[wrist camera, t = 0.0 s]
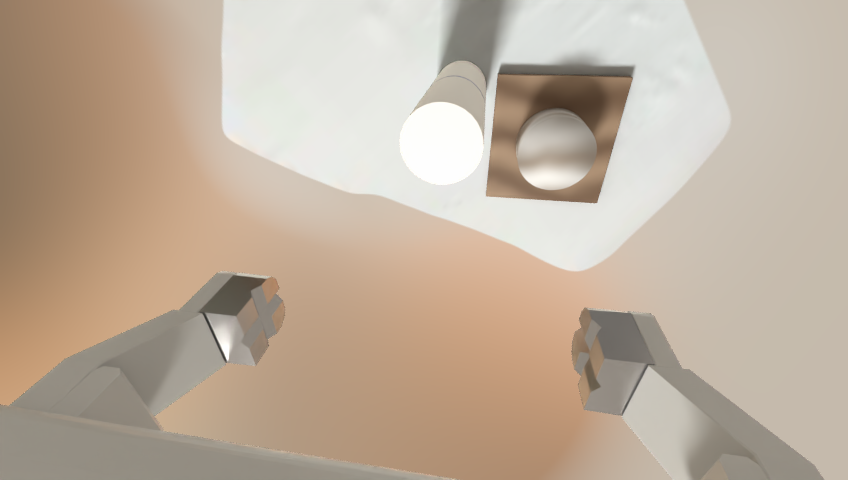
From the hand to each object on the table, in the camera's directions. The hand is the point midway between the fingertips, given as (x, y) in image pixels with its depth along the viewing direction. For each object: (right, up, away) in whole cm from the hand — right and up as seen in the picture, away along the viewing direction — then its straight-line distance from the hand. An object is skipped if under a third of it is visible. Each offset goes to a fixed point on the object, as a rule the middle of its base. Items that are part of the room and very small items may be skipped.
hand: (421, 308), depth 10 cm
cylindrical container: (+5, +23, +42) cm, 48 cm away
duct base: (+19, +16, +44) cm, 50 cm away
